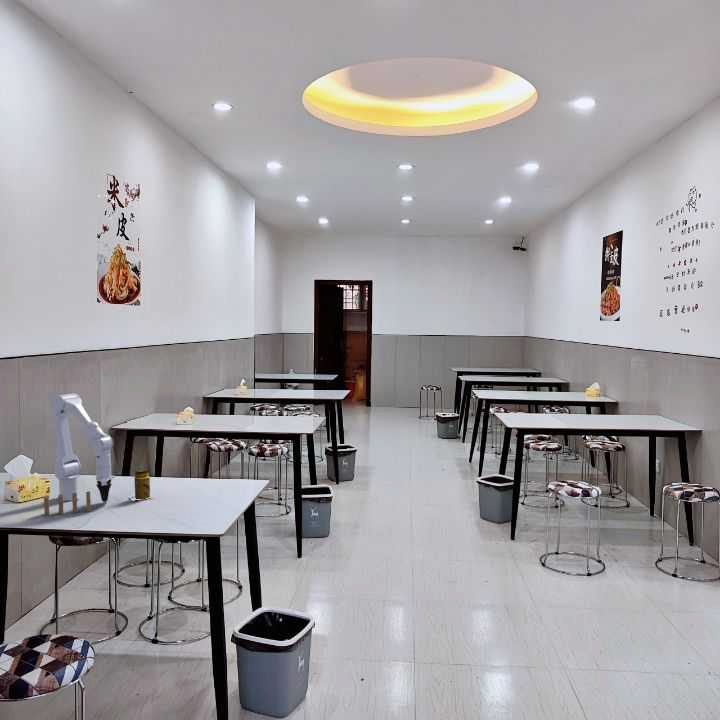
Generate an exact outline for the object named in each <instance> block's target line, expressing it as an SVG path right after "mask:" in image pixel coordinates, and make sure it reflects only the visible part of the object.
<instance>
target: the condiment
mask: <svg viewBox="0 0 720 720" xmlns="http://www.w3.org/2000/svg"><path fill="white" fill-rule="evenodd" d="M134 472H135V474H134V475H135V476H134V497H135V498H136V499H146V498H149V497H151V485H150V483H151V481H150V475H149V474H150V473H149V469H147V468H140V469H136V470H135V471H134Z"/></svg>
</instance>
